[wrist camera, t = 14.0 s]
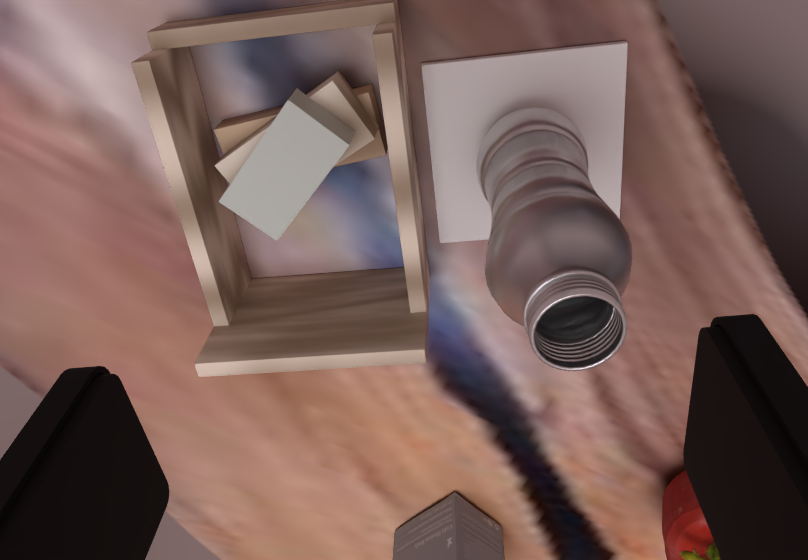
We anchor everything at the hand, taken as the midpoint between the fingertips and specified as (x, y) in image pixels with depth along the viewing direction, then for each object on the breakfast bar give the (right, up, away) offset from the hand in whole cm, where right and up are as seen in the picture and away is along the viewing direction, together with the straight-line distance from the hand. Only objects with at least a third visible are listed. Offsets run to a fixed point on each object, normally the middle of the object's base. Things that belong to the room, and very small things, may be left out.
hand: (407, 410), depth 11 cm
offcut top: (-7, +9, +29) cm, 31 cm away
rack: (-6, +10, +33) cm, 35 cm away
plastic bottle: (+8, +10, +32) cm, 34 cm away
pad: (+8, +11, +32) cm, 35 cm away
